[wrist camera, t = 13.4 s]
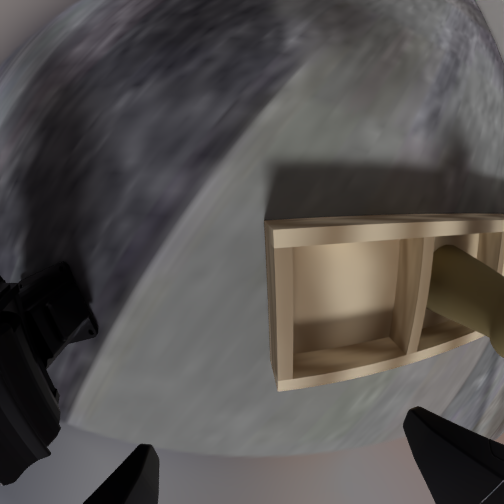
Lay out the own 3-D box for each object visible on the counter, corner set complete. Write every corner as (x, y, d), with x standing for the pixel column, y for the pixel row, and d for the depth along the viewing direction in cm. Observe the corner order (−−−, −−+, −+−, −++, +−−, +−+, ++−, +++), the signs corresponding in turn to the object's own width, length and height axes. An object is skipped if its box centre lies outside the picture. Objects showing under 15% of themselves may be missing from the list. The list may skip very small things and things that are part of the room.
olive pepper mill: (432, 323, 21) (511, 387, 10) (407, 280, 20) (507, 345, 9) (471, 276, 21) (555, 320, 10) (451, 229, 19) (555, 263, 9)
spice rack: (270, 359, 22) (278, 391, 18) (264, 220, 19) (273, 229, 15) (509, 301, 23) (529, 312, 20) (522, 214, 21) (545, 219, 17)
